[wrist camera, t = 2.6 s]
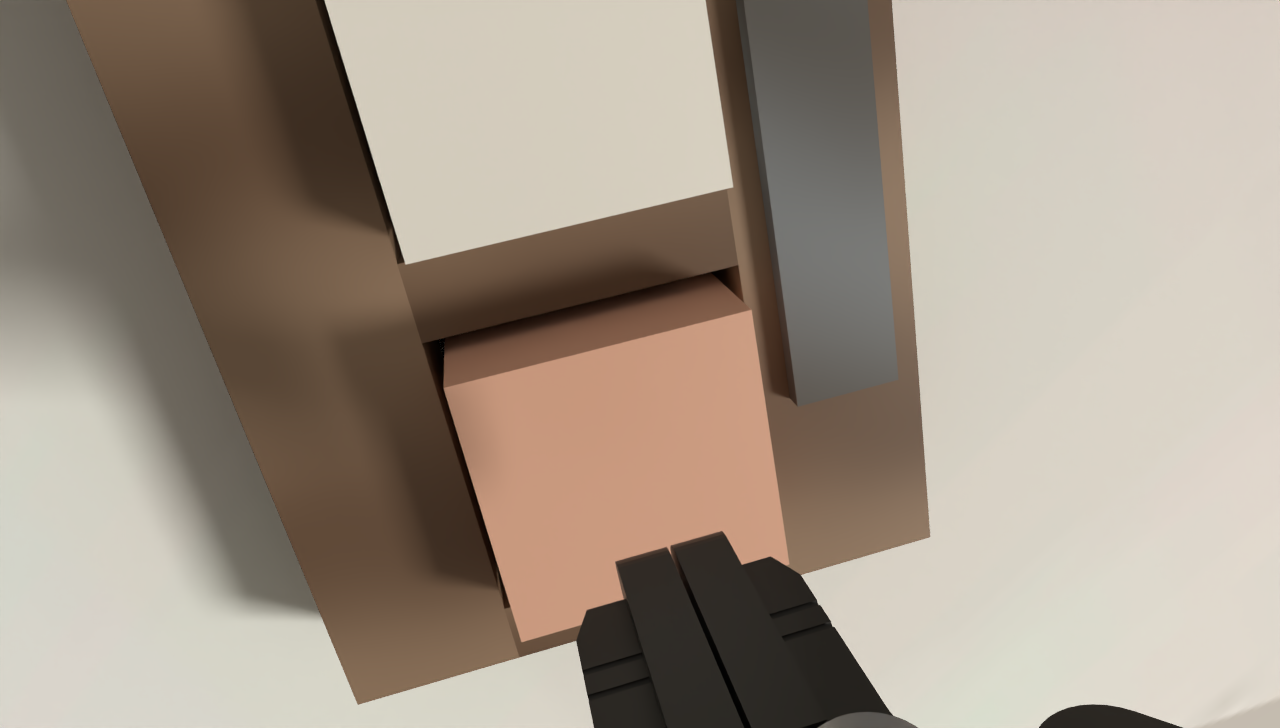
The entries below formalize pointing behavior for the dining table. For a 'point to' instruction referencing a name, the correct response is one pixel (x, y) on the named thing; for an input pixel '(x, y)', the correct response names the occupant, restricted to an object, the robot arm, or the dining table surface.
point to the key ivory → (531, 112)
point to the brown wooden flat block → (513, 298)
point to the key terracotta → (614, 441)
